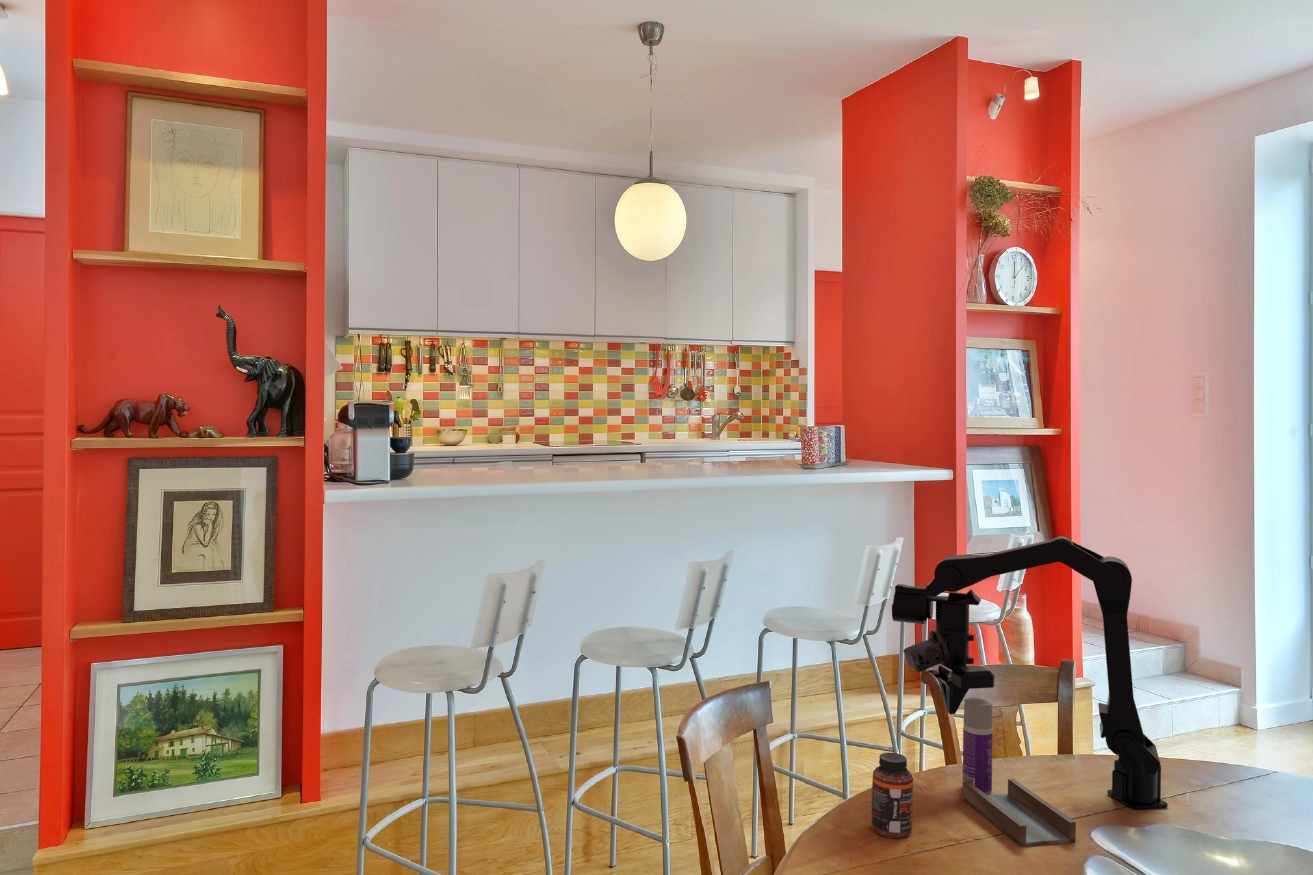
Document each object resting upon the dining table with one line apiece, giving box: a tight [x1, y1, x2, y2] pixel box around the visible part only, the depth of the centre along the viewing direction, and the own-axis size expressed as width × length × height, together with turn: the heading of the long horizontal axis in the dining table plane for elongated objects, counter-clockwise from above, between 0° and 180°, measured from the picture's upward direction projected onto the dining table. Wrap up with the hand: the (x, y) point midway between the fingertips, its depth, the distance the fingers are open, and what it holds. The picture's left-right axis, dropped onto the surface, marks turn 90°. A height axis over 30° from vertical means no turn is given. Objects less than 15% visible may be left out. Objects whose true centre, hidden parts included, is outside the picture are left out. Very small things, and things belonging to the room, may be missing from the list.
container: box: [962, 697, 994, 795], centre depth 147 cm, size 5×5×15 cm
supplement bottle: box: [871, 752, 914, 839], centre depth 131 cm, size 6×6×11 cm
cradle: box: [962, 778, 1077, 847], centre depth 136 cm, size 9×16×3 cm, turn 10°
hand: (951, 713), depth 156 cm, fingers closed
